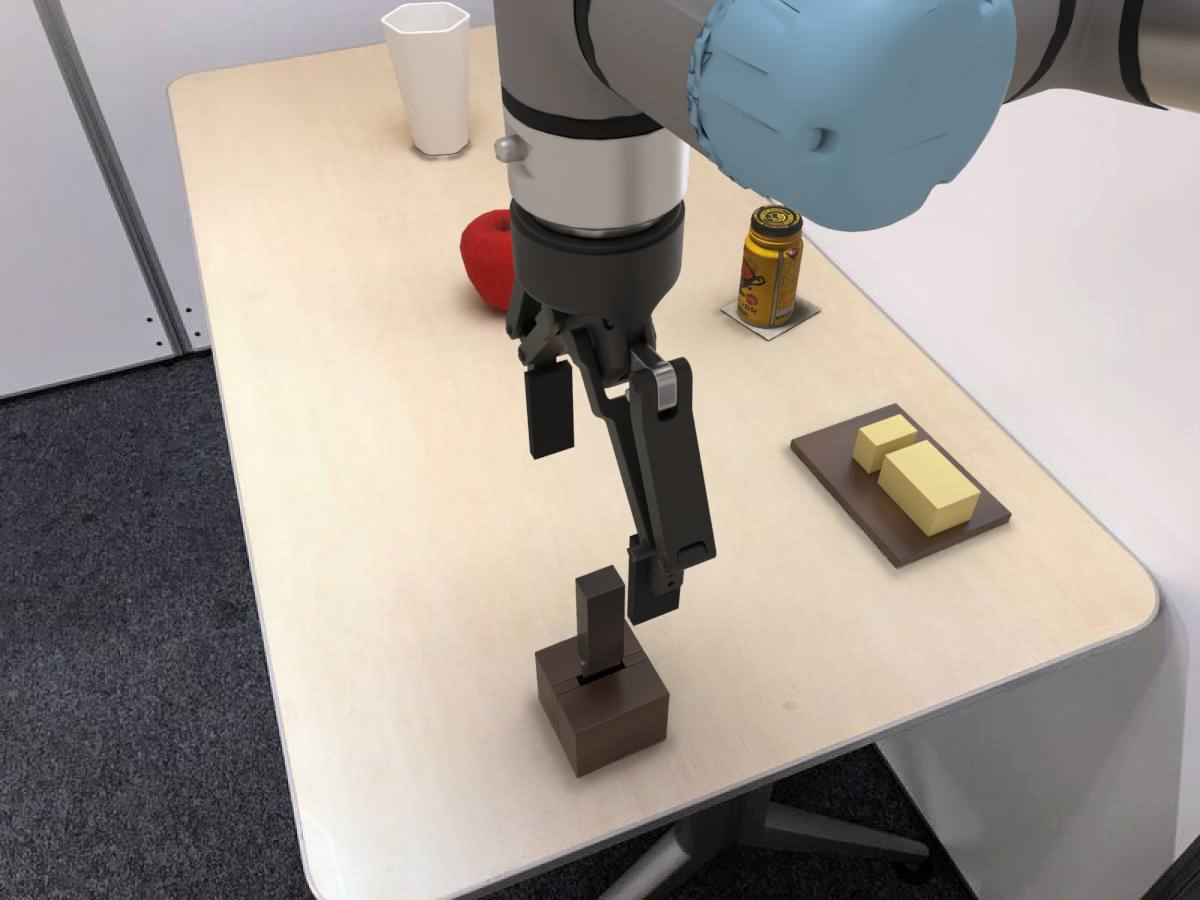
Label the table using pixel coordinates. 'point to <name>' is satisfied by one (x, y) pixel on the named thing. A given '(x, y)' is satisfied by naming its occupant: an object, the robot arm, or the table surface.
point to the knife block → (602, 704)
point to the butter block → (928, 487)
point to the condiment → (771, 273)
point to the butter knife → (600, 622)
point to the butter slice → (882, 441)
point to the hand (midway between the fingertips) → (598, 525)
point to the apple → (490, 257)
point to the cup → (432, 72)
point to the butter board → (870, 502)
